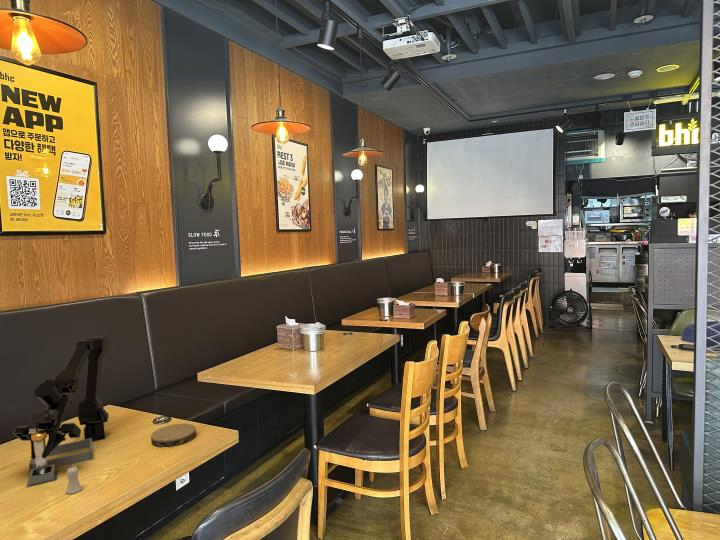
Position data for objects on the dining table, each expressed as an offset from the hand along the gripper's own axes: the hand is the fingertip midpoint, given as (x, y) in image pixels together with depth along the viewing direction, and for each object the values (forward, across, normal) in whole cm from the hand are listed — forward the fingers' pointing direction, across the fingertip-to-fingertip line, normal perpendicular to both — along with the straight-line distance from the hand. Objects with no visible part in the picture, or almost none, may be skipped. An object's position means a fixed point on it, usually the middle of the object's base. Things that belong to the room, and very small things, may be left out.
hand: (38, 458), depth 150 cm
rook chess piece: (+12, +15, 0) cm, 19 cm away
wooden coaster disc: (-15, +32, +27) cm, 44 cm away
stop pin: (+4, 0, +6) cm, 7 cm away
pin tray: (-5, -2, +17) cm, 17 cm away
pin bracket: (+5, 0, +7) cm, 8 cm away
